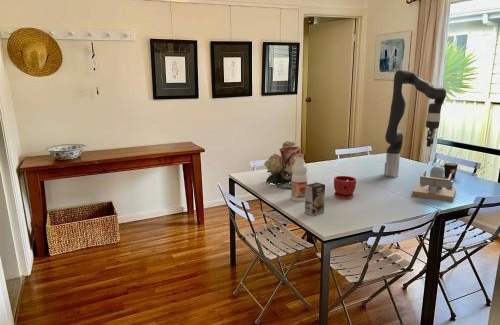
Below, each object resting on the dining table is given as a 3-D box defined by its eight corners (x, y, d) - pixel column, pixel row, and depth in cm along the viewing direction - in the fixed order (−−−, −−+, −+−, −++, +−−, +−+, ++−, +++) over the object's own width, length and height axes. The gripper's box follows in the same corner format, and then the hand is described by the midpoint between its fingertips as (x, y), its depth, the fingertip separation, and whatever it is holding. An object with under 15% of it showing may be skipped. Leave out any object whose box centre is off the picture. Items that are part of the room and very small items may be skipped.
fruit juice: (294, 195, 228) (295, 152, 222) (309, 198, 224) (310, 153, 217) (288, 200, 220) (289, 155, 214) (303, 202, 216) (304, 156, 209)
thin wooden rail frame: (419, 184, 224) (420, 176, 223) (423, 177, 238) (424, 170, 237) (448, 188, 215) (449, 180, 214) (451, 181, 229) (452, 173, 228)
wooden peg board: (412, 195, 225) (414, 169, 221) (417, 186, 242) (420, 162, 238) (452, 201, 213) (455, 174, 209) (455, 191, 230) (458, 166, 226)
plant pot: (351, 201, 216) (352, 182, 213) (330, 198, 223) (331, 179, 220) (358, 195, 227) (359, 176, 224) (337, 192, 234) (338, 174, 231)
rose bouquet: (260, 185, 251) (259, 142, 244) (285, 176, 272) (285, 136, 265) (290, 192, 235) (291, 146, 227) (315, 182, 256) (316, 140, 249)
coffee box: (313, 216, 195) (313, 187, 191) (304, 213, 200) (305, 184, 196) (324, 212, 200) (325, 184, 196) (316, 209, 205) (316, 181, 201)
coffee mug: (455, 176, 264) (457, 162, 261) (456, 179, 256) (458, 165, 254) (437, 174, 269) (439, 161, 266) (438, 177, 261) (439, 164, 259)
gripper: (428, 118, 236) (425, 142, 240) (424, 121, 224) (421, 146, 229) (441, 119, 231) (437, 144, 236) (438, 122, 220) (434, 148, 224)
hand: (429, 145), depth 232 cm, fingers open, 8 cm apart
